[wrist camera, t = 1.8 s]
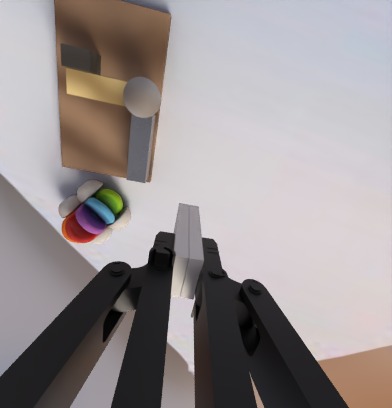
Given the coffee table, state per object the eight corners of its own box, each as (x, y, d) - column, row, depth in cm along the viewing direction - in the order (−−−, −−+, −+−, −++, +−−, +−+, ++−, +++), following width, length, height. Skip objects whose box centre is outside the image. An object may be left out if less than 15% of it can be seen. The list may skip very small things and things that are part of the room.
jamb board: (58, -13, 23) (23, -45, 18) (176, 18, 25) (173, -3, 20) (65, 164, 31) (42, 175, 26) (154, 181, 33) (148, 194, 28)
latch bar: (137, 110, 27) (131, 111, 25) (156, 114, 28) (152, 115, 25) (132, 173, 31) (126, 179, 28) (148, 176, 31) (144, 182, 28)
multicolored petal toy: (59, 205, 34) (28, 228, 27) (102, 168, 32) (79, 184, 25) (100, 240, 37) (80, 269, 30) (141, 209, 35) (130, 232, 28)
